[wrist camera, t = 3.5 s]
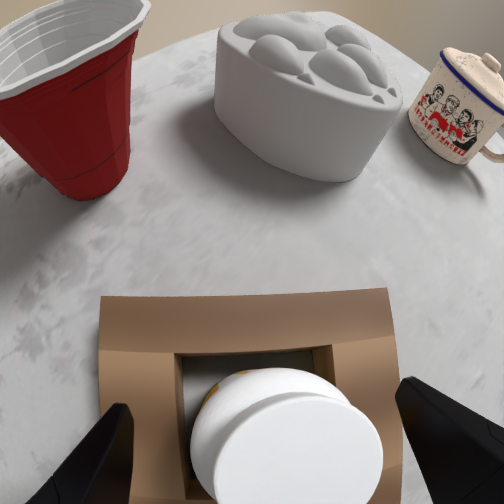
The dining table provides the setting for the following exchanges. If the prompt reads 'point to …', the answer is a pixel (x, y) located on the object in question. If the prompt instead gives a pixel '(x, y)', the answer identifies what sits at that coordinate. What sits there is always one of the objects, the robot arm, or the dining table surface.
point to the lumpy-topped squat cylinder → (304, 94)
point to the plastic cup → (71, 91)
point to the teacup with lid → (460, 106)
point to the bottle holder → (234, 344)
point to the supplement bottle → (284, 441)
